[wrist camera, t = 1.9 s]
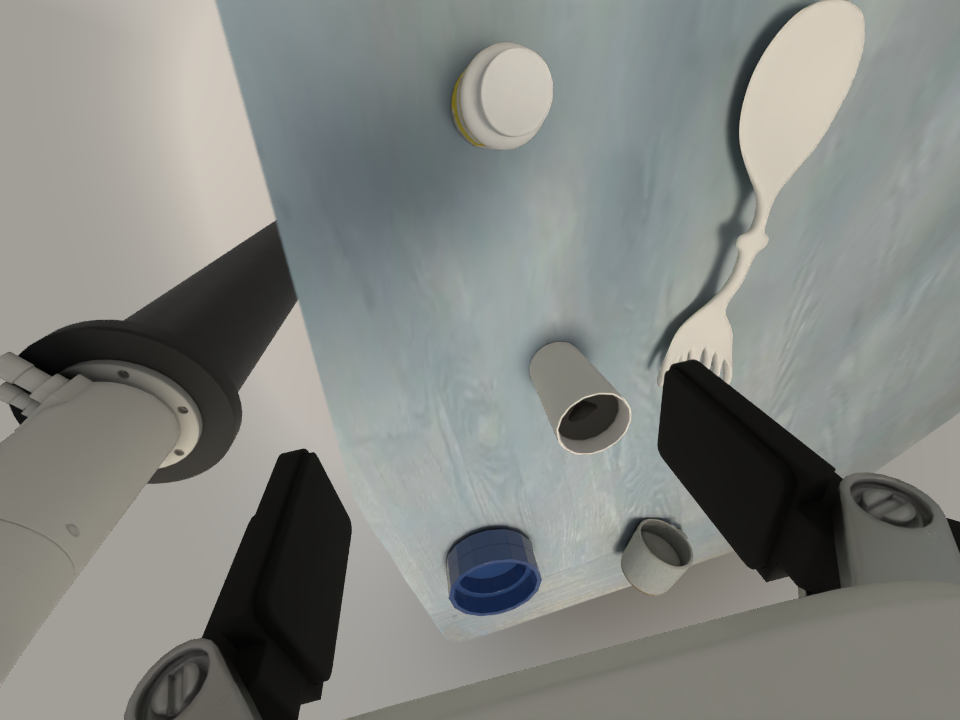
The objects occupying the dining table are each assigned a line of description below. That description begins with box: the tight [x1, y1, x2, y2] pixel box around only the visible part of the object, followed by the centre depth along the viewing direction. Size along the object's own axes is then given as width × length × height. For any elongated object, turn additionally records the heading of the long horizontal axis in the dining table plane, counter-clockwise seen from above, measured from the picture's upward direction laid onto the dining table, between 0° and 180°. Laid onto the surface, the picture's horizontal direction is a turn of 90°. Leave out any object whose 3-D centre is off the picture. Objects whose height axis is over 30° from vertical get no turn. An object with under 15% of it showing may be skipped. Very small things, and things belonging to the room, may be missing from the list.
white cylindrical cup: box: [529, 342, 631, 455], centre depth 38 cm, size 7×7×10 cm
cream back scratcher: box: [657, 0, 865, 387], centre depth 36 cm, size 9×32×4 cm, turn 176°
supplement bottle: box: [451, 42, 553, 150], centre depth 25 cm, size 5×5×10 cm
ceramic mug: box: [621, 519, 693, 596], centre depth 57 cm, size 11×8×8 cm
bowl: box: [446, 529, 542, 616], centre depth 54 cm, size 12×12×5 cm
